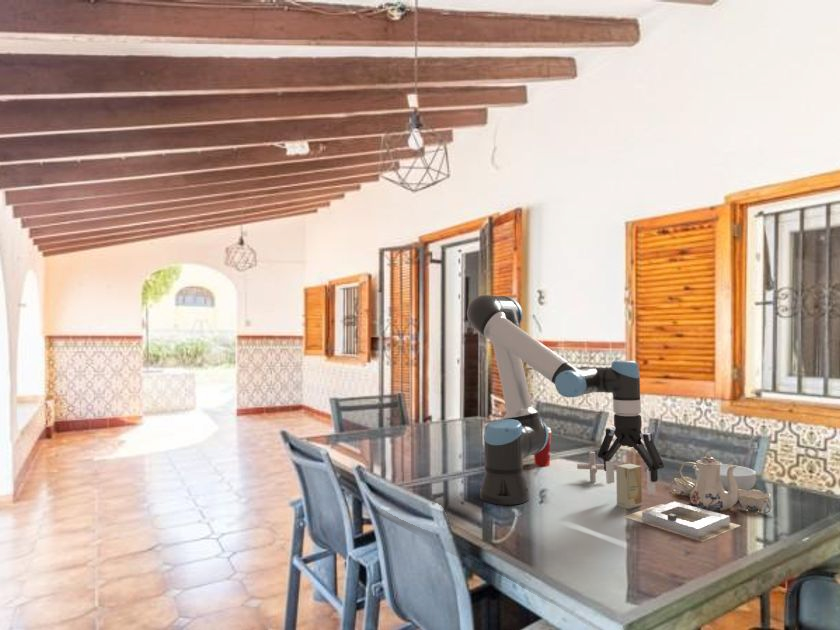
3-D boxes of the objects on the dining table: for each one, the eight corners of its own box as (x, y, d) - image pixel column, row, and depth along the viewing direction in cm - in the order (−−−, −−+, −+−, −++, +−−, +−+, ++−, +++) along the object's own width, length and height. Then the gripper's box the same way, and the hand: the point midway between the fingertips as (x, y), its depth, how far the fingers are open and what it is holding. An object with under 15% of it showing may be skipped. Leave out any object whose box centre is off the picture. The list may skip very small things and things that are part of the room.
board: (703, 545, 131) (703, 541, 131) (623, 520, 149) (623, 516, 149) (740, 529, 141) (740, 525, 141) (661, 507, 159) (661, 503, 159)
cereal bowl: (747, 485, 179) (746, 464, 179) (764, 501, 163) (763, 477, 163) (690, 482, 184) (690, 461, 184) (701, 497, 168) (701, 474, 168)
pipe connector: (610, 486, 181) (609, 455, 181) (578, 485, 183) (578, 455, 183) (606, 478, 190) (605, 449, 191) (576, 477, 192) (575, 448, 193)
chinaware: (778, 517, 154) (778, 457, 156) (761, 526, 142) (761, 461, 144) (675, 497, 174) (676, 443, 176) (653, 503, 162) (654, 446, 164)
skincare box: (629, 512, 155) (628, 468, 155) (616, 508, 159) (615, 465, 159) (643, 508, 159) (642, 465, 159) (630, 504, 162) (629, 462, 163)
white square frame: (698, 539, 132) (697, 524, 132) (642, 521, 145) (642, 508, 145) (729, 525, 141) (729, 512, 141) (674, 510, 153) (674, 497, 153)
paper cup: (556, 465, 209) (555, 428, 209) (539, 467, 206) (538, 430, 206) (544, 461, 216) (543, 425, 216) (527, 463, 213) (527, 427, 214)
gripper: (675, 417, 151) (678, 494, 150) (599, 408, 172) (602, 477, 171) (659, 420, 147) (662, 500, 146) (584, 411, 168) (586, 481, 167)
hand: (630, 487), depth 159 cm, fingers open, 13 cm apart
